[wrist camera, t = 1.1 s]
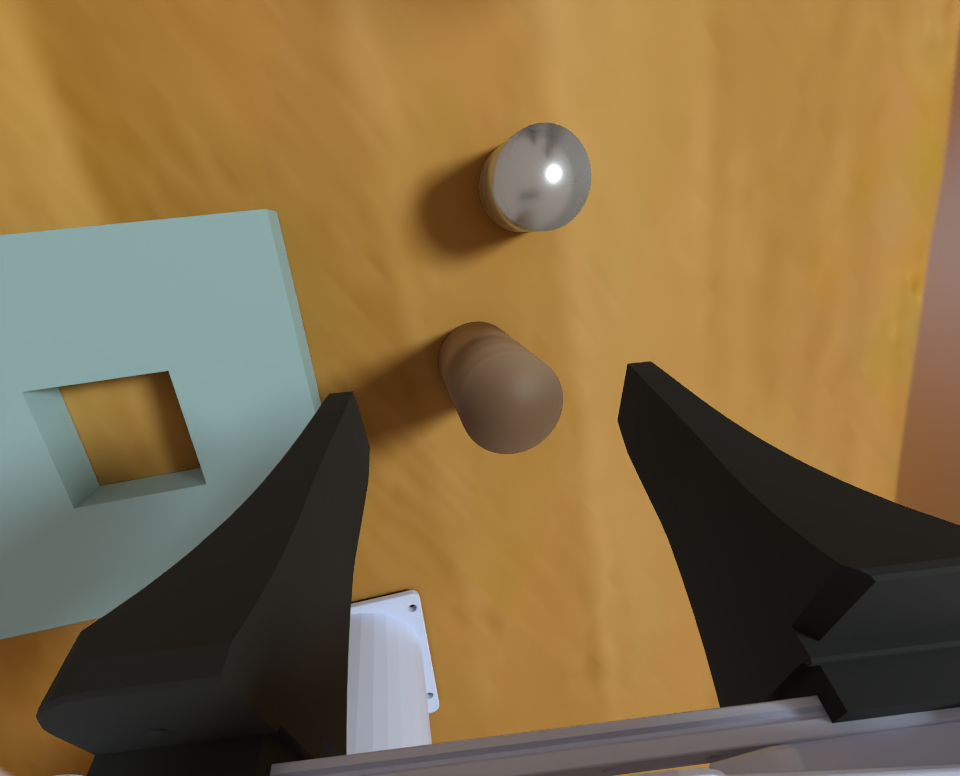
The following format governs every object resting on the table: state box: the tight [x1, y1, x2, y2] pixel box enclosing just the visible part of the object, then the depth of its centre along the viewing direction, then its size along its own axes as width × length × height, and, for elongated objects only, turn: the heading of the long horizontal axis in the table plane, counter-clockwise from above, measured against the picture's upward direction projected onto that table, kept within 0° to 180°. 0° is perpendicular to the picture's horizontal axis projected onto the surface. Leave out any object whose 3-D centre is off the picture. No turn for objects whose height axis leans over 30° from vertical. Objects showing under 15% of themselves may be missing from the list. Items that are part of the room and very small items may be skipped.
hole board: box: [0, 209, 321, 640], centre depth 21 cm, size 17×16×2 cm
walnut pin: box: [438, 322, 563, 454], centre depth 21 cm, size 4×4×7 cm
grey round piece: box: [479, 123, 591, 232], centre depth 20 cm, size 4×4×4 cm
